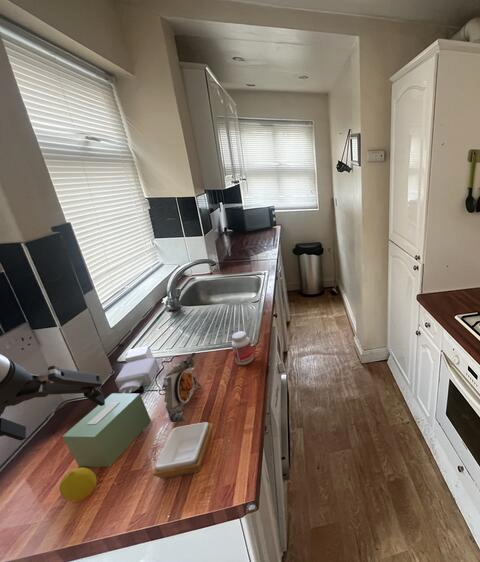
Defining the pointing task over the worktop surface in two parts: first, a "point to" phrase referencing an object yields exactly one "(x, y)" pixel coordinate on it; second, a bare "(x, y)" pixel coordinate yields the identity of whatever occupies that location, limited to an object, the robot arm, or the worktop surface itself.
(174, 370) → the meal
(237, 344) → the pill bottle
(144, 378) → the charger
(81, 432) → the tissue box
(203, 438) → the soap dish
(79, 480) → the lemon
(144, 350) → the white cube
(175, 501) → the worktop surface
